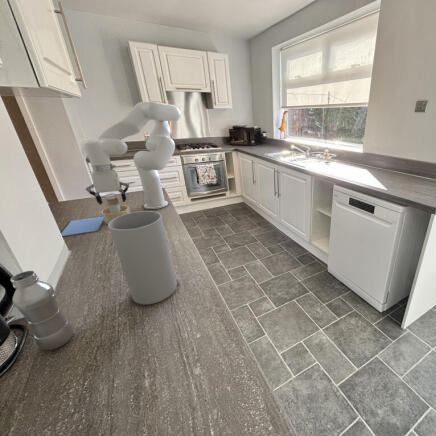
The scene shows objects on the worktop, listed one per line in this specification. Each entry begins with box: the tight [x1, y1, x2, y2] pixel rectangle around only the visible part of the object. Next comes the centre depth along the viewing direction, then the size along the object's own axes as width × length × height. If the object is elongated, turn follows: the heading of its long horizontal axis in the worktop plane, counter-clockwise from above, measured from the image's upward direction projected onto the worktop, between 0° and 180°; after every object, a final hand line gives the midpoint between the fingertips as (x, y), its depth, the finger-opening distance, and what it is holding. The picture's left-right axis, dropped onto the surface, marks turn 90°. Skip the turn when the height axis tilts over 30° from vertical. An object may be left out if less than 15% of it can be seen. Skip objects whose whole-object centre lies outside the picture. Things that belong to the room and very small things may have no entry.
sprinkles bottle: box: [104, 192, 122, 214], centre depth 120 cm, size 5×5×14 cm
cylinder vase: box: [107, 210, 178, 305], centre depth 70 cm, size 12×12×25 cm
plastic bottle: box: [10, 270, 74, 351], centre depth 55 cm, size 6×7×20 cm
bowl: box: [100, 204, 132, 225], centre depth 121 cm, size 12×12×6 cm
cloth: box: [60, 216, 104, 237], centre depth 116 cm, size 18×14×1 cm
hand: (112, 202), depth 119 cm, fingers open, 9 cm apart
